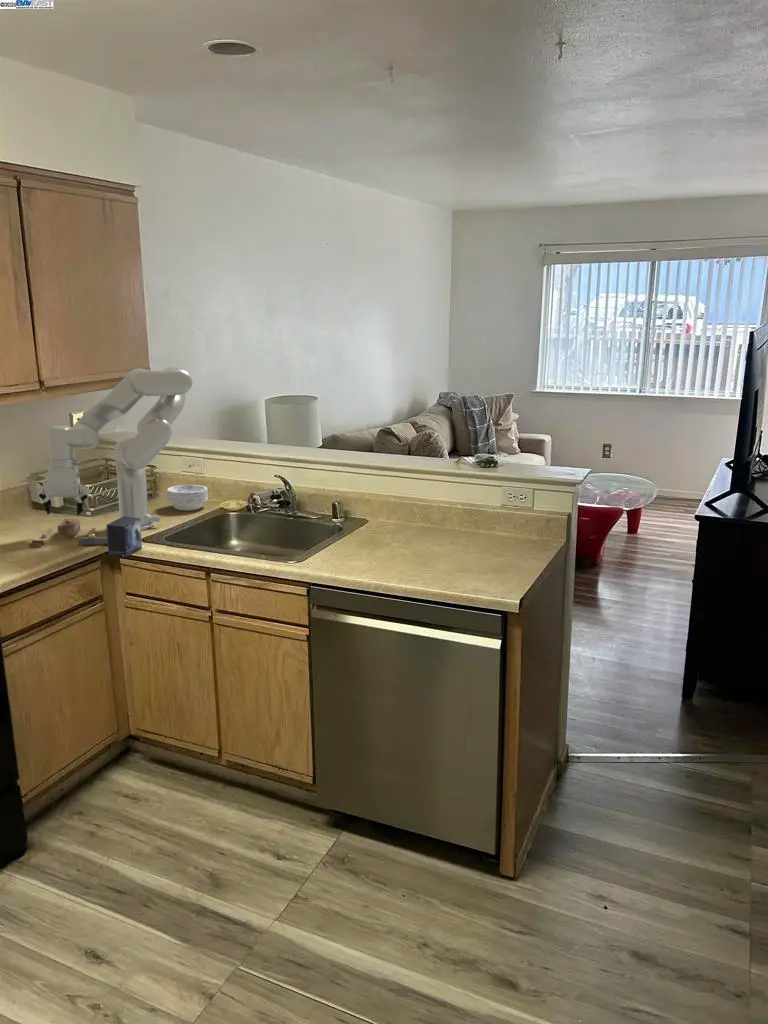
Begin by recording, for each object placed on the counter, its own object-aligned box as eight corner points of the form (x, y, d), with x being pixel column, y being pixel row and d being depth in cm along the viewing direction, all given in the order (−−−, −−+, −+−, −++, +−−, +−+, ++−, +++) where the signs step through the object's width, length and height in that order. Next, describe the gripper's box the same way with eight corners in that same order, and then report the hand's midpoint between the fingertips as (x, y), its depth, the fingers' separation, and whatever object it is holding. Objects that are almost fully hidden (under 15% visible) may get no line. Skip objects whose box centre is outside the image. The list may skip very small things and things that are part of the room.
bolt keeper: (43, 543, 255) (43, 540, 255) (40, 547, 251) (40, 543, 251) (32, 543, 254) (32, 540, 254) (28, 547, 251) (28, 543, 251)
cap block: (80, 531, 270) (79, 516, 269) (74, 538, 262) (73, 523, 260) (65, 531, 270) (64, 516, 268) (58, 539, 261) (57, 523, 260)
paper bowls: (191, 501, 313) (190, 481, 311) (216, 507, 304) (215, 487, 302) (159, 508, 301) (158, 488, 299) (184, 515, 292) (183, 494, 290)
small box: (126, 558, 242) (124, 526, 240) (107, 556, 244) (105, 524, 241) (143, 548, 252) (141, 517, 250) (124, 547, 254) (122, 515, 251)
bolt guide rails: (95, 531, 270) (95, 527, 270) (91, 536, 263) (90, 533, 263) (48, 532, 268) (48, 528, 267) (42, 537, 261) (42, 534, 261)
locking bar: (118, 542, 257) (117, 533, 257) (117, 544, 256) (116, 534, 255) (80, 543, 256) (79, 533, 255) (79, 544, 254) (78, 535, 253)
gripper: (92, 462, 264) (93, 511, 268) (38, 460, 261) (40, 510, 265) (87, 466, 257) (88, 516, 261) (31, 464, 254) (34, 515, 258)
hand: (64, 513), depth 263 cm, fingers open, 9 cm apart
